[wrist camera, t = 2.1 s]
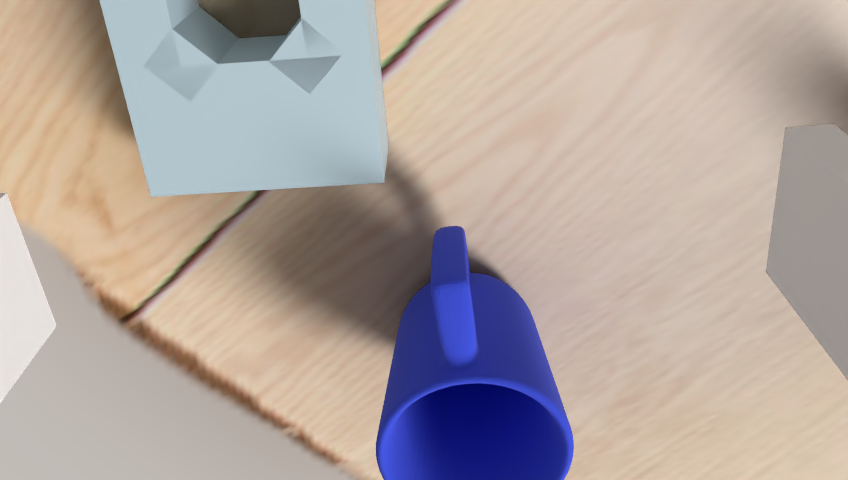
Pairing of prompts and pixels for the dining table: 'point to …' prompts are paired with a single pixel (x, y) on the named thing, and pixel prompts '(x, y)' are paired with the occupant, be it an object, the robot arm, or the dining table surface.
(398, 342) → the mug
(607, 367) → the dining table surface
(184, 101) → the bore block
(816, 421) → the dining table surface
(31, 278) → the robot arm
